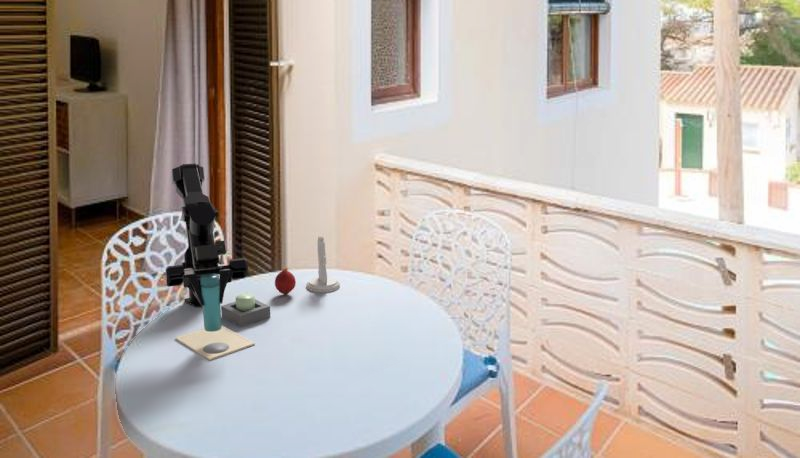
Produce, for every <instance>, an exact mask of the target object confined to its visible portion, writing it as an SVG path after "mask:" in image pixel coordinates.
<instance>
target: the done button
mask: <svg viewBox="0 0 800 458" xmlns="http://www.w3.org/2000/svg"><path fill="white" fill-rule="evenodd" d="M255 300H256V297H255V295H254V294H252V293H241V294H238V295H236V296H235V302H236V310H238V311H240V312H245V311H248V310H251V309H255Z"/></svg>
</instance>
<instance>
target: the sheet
mask: <svg viewBox="0 0 800 458" xmlns="http://www.w3.org/2000/svg"><path fill="white" fill-rule="evenodd" d="M174 338H175V339H174V340H176V341H178V342H179V343H181V344H183V345H184V346H186V347H187V348H189V349H191V350H192V351H194V352H196V353H197V354H199V355H200V356H202V357H204V358H205V359H207V360H208V361H213V360H215V359H218V358H220V357H224V356H226V355H230V354H232V353H236V352H238V351H241V350H243V349H247V348H249V347H252V346H255V345H256V343H255V342H253V341H252V340H250V339H248V338H246V337H244V336H242V335H240V334H239V333H237V332H235V331H234V330H232V329H229V328H228V327H226V326H224V325H222V328H221V329H220V330H218V331H213V332H209V331H205V330H204V328H202V329H198V330H195V331H191V332H189V333H185V334H182V335H179V336H175V337H174Z"/></svg>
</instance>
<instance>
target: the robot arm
mask: <svg viewBox="0 0 800 458" xmlns="http://www.w3.org/2000/svg"><path fill="white" fill-rule="evenodd" d="M171 180H172V181H171V182H172V185H174V187H175V193H176V194H178V196H180V199H182V205H183V206H181V218H182V222H184V223H185V229H186V230H185V231H186V232H185V233H186V238H187V239H186V240H187V248H186V250H185V253H184V255H183V262H181V264H177V265H168V266H167V267H166V268H165V283H166V287H177V286H181V285H182V286H183V287H184V289H185V288H186V289H187V288H188V297H187V298H184V299H183V300H184V302H186V303H187V304H189V305H192V306H193V307H200V306H201V307H203V298H202V289H201V282H200V276H202V275H204V274H218V275H219V293H220V305H223V300H224V297H225V296H224V295H225V291H226V287H227V285H228V283H231V282H232V280H236V279H237V280H238V279H245V278H246V277H247V274H248V270H249V265H248V260H247V259H246V258H244V257H243V258H242V257H240V258H234V259H233V258H232V259H229V263H228V264H227V265H219V264H220V262H221V261H220V256H223V255H227V247H226V241H225V240H216V242H215V235H214V231H215V223H216V220H217V218H218V217H219V212H218V210H217V208H215V206H214V204H212V203H211V200H210V197H209V196H208V195H206V194H204V192H203V188H202V187H203V183H204V182H205V170H204V166H201V165H200V164H199V163H198V164H197V163H196V162H195V163H183V164H180V165H178V166H175V167H174V168H171Z"/></svg>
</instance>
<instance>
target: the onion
mask: <svg viewBox="0 0 800 458" xmlns="http://www.w3.org/2000/svg"><path fill="white" fill-rule="evenodd" d="M296 285H297V283H296V277H295V276H294V274H293V273H292V272H290V271H289V270H288V268H287V267H283V269H282V270H281V271H280V272H278V274H277V275H276V276H275V279H274V286H275V289H276V290H277V291H278V292H279V293H281V294H283V295H285V296H287V295H289V294H290V293H291V292H292V291H293V290H294V288H295V287H296Z"/></svg>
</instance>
